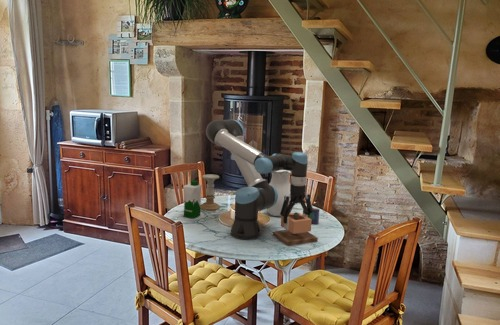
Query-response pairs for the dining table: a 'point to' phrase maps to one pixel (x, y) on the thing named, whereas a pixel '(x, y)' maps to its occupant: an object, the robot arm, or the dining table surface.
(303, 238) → the hook peg board
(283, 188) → the pitcher
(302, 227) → the orange square ring
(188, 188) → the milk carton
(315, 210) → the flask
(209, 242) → the dining table surface
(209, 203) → the candle holder
